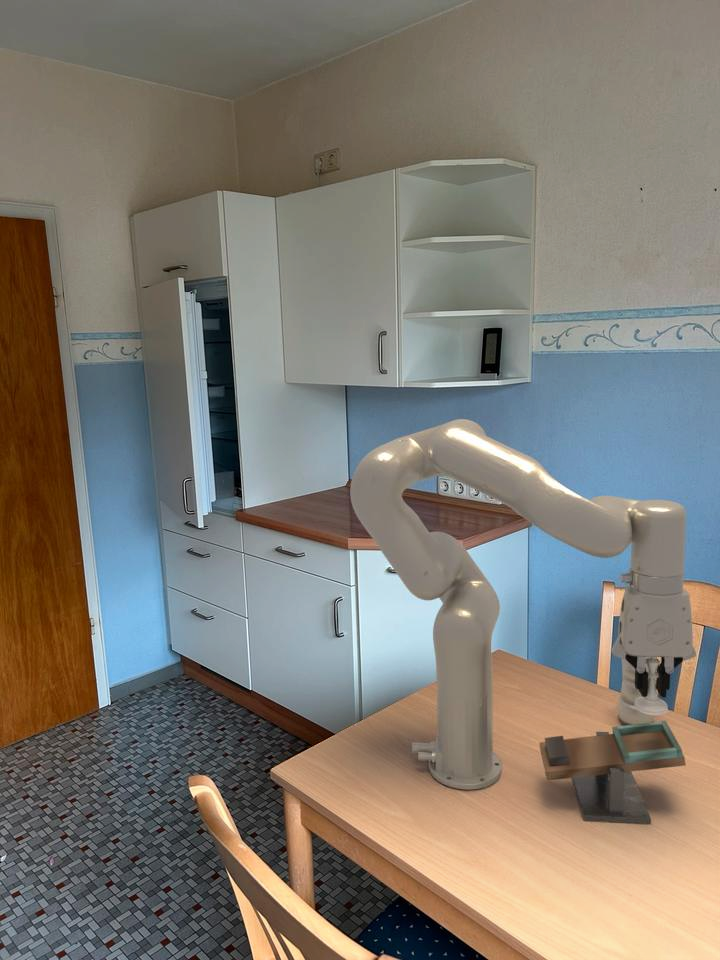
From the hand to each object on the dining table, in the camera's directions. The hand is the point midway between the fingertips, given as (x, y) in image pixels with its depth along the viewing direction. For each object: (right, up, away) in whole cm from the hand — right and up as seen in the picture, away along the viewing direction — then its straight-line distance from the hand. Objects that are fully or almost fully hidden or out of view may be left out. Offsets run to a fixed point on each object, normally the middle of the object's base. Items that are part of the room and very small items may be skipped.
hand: (651, 692), depth 113 cm
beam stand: (-5, -18, +4) cm, 20 cm away
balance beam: (-6, -11, +3) cm, 13 cm away
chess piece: (0, -3, +1) cm, 3 cm away
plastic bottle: (+7, -14, +26) cm, 31 cm away
